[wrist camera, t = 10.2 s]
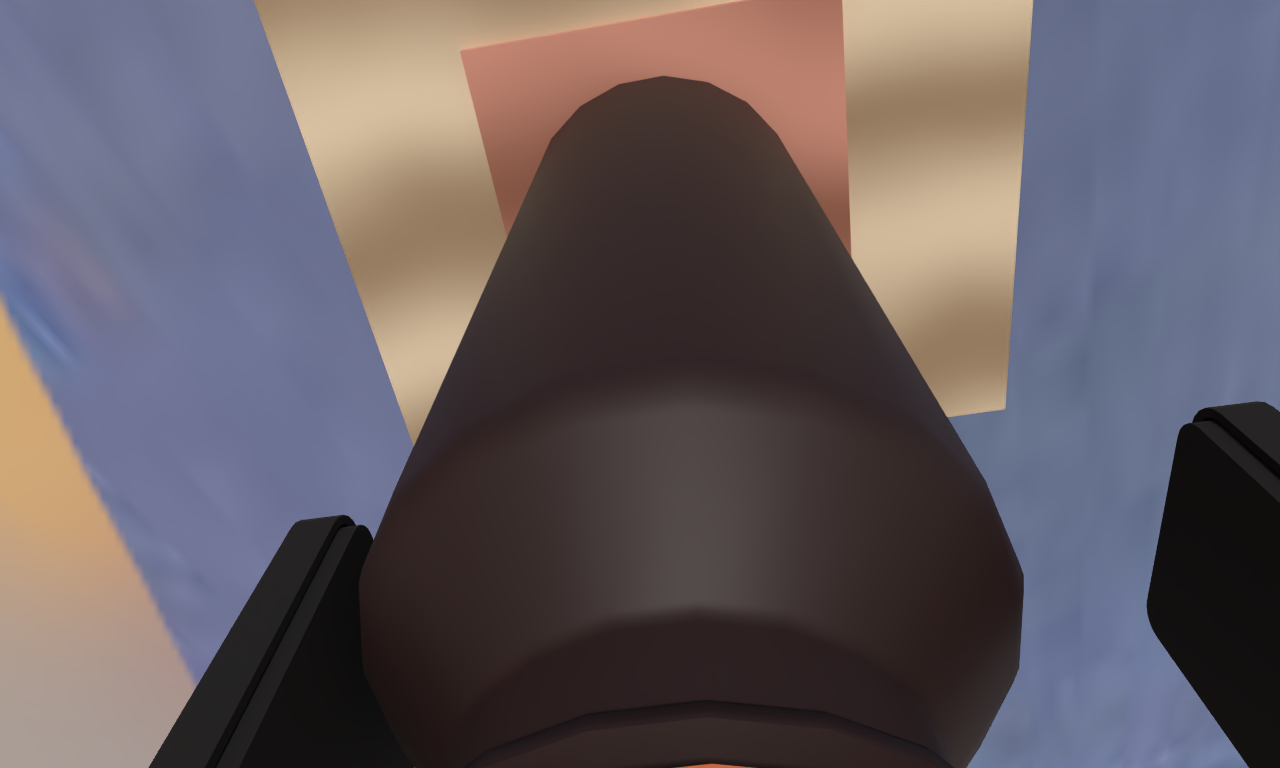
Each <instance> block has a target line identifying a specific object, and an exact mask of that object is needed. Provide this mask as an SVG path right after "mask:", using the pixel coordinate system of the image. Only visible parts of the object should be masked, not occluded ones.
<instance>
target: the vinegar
mask: <svg viewBox="0 0 1280 768" xmlns="http://www.w3.org/2000/svg"><path fill="white" fill-rule="evenodd" d="M1023 594H1024V575H1023V572H1022V569H1021V567H1020V564H1019V561H1018V559H1017V556H1016V554H1015V551H1014V549H1013V547H1012V544H1011V542H1010V539H1009V537H1008V534H1007V532H1006V530H1005V527H1004V525H1003V522H1002V520H1001V517H1000V515H999V513H998V510H997V508H996V505H995V503H994V500H993V498H992V496H991V493H990V491H989V488H988V486H987V483H986V481H985V479H984V478H983V476H982V474H981V473H980V471H979V469H978V468H977V466H976V464H975V463H974V461H973V459H972V458H971V456H970V454H969V453H968V451H967V449H966V448H965V446H964V444H963V443H962V441H961V439H960V438H959V436H958V434H957V433H956V431H955V429H954V428H953V426H952V424H951V423H950V421H949V419H948V418H947V416H946V414H945V413H944V411H943V409H942V408H941V406H940V404H939V403H938V401H937V399H936V398H935V396H934V394H933V393H932V391H931V389H930V388H929V386H928V384H927V383H926V381H925V379H924V378H923V376H922V374H921V373H920V371H919V369H918V368H917V366H916V364H915V363H914V361H913V359H912V358H911V356H910V354H909V353H908V351H907V349H906V348H905V346H904V344H903V343H902V341H901V339H900V338H899V336H898V334H897V333H896V331H895V329H894V328H893V326H892V324H891V323H890V321H889V319H888V318H887V316H886V314H885V313H884V311H883V309H882V308H881V306H880V304H879V303H878V301H877V299H876V298H875V296H874V294H873V293H872V291H871V289H870V288H869V286H868V284H867V283H866V281H865V279H864V278H863V276H862V274H861V273H860V271H859V269H858V268H857V266H856V264H855V263H854V261H853V259H852V258H851V256H850V254H849V253H848V251H847V249H846V248H845V246H844V244H843V243H842V241H841V239H840V238H839V236H838V234H837V233H836V231H835V229H834V228H833V226H832V224H831V223H830V221H829V219H828V218H827V216H826V214H825V213H824V211H823V209H822V208H821V206H820V204H819V203H818V201H817V199H816V198H815V196H814V194H813V193H812V191H811V189H810V188H809V186H808V184H807V183H806V181H805V179H804V178H803V176H802V174H801V173H800V171H799V169H798V168H797V166H796V164H795V163H794V161H793V159H792V158H791V156H790V154H789V153H788V151H787V149H786V148H785V146H784V144H783V143H782V141H781V139H780V138H779V136H778V134H777V133H776V132H775V131H774V130H773V129H772V128H771V127H770V126H769V125H768V124H767V123H766V121H765V120H764V119H763V118H762V117H761V116H760V115H759V114H758V113H757V112H756V111H755V110H754V109H753V108H752V107H751V106H750V105H749V104H748V102H746V101H744V100H742V99H740V98H738V97H736V96H734V95H732V94H730V93H728V92H726V91H724V90H722V89H720V88H719V87H717V86H715V85H713V84H711V83H709V82H704V81H697V80H690V79H683V78H676V77H669V76H659V77H654V78H648V79H643V80H638V81H633V82H627V83H622V84H618V85H616V86H615V87H613V88H611V89H609V90H608V91H606V92H604V93H602V94H601V95H599V96H597V97H595V98H594V99H592V100H590V101H588V102H587V103H585V104H583V105H581V106H580V107H579V108H578V109H577V110H576V111H575V112H574V114H573V115H572V116H571V117H570V118H569V119H568V120H567V122H566V123H565V124H564V125H563V126H562V127H561V128H560V129H559V131H558V132H557V133H556V134H555V135H554V136H553V137H552V138H551V140H550V142H549V145H548V147H547V149H546V151H545V154H544V156H543V158H542V160H541V163H540V165H539V167H538V169H537V172H536V174H535V176H534V178H533V181H532V183H531V185H530V187H529V190H528V192H527V194H526V196H525V198H524V201H523V203H522V205H521V207H520V210H519V212H518V214H517V216H516V219H515V221H514V223H513V225H512V228H511V230H510V232H509V234H508V237H507V239H506V241H505V243H504V246H503V248H502V250H501V252H500V254H499V257H498V259H497V261H496V263H495V266H494V268H493V270H492V272H491V275H490V277H489V279H488V281H487V284H486V286H485V288H484V290H483V293H482V295H481V297H480V299H479V302H478V304H477V306H476V308H475V310H474V313H473V315H472V317H471V319H470V322H469V324H468V326H467V328H466V331H465V333H464V335H463V337H462V340H461V342H460V344H459V346H458V349H457V351H456V353H455V355H454V358H453V360H452V362H451V364H450V367H449V369H448V371H447V373H446V375H445V378H444V380H443V382H442V384H441V387H440V389H439V391H438V393H437V396H436V398H435V400H434V402H433V405H432V407H431V409H430V411H429V414H428V416H427V418H426V420H425V423H424V425H423V427H422V429H421V431H420V434H419V436H418V438H417V440H416V443H415V445H414V447H413V449H412V452H411V454H410V456H409V458H408V461H407V463H406V465H405V467H404V470H403V472H402V474H401V476H400V479H399V481H398V483H397V485H396V487H395V490H394V492H393V495H392V497H391V499H390V502H389V504H388V507H387V509H386V512H385V514H384V516H383V519H382V521H381V524H380V526H379V529H378V531H377V533H376V536H375V538H374V541H373V543H372V546H371V548H370V550H369V553H368V555H367V558H366V560H365V563H364V565H363V567H362V571H361V575H360V579H359V601H360V623H361V645H362V662H363V672H364V675H365V677H366V679H367V681H368V683H369V685H370V687H371V689H372V691H373V693H374V695H375V697H376V699H377V702H378V704H379V706H380V708H381V710H382V712H383V714H384V716H385V718H386V720H387V722H388V724H389V726H390V728H391V730H392V732H393V734H394V736H395V738H396V740H397V742H398V744H399V746H400V748H401V750H402V752H403V753H404V754H405V756H406V757H407V758H408V759H409V761H410V762H411V763H412V764H413V766H414V767H415V768H966V767H967V766H968V764H969V763H970V761H971V760H972V758H973V757H974V755H975V754H976V752H977V750H978V749H979V747H980V746H981V744H982V742H983V740H984V738H985V736H986V734H987V732H988V730H989V728H990V726H991V724H992V722H993V720H994V718H995V717H996V715H997V713H998V711H999V709H1000V707H1001V705H1002V703H1003V701H1004V699H1005V697H1006V695H1007V693H1008V691H1009V689H1010V687H1011V685H1012V684H1013V682H1014V679H1015V677H1016V674H1017V671H1018V669H1019V661H1020V644H1021V627H1022V611H1023Z"/></svg>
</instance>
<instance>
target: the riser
mask: <svg viewBox="0 0 1280 768" xmlns="http://www.w3.org/2000/svg"><path fill="white" fill-rule="evenodd" d="M254 2H255V5H256V8H257V10H258V13H259V16H260V19H261V21H262V24H263V27H264V30H265V33H266V35H267V38H268V41H269V44H270V47H271V49H272V52H273V55H274V58H275V60H276V63H277V66H278V69H279V72H280V74H281V77H282V80H283V83H284V86H285V88H286V91H287V94H288V97H289V100H290V102H291V105H292V108H293V111H294V113H295V116H296V119H297V122H298V125H299V127H300V130H301V133H302V136H303V139H304V141H305V144H306V147H307V150H308V153H309V155H310V158H311V161H312V164H313V166H314V169H315V172H316V175H317V178H318V180H319V183H320V186H321V189H322V192H323V194H324V197H325V200H326V203H327V205H328V208H329V211H330V214H331V217H332V219H333V222H334V225H335V228H336V231H337V233H338V236H339V239H340V242H341V245H342V247H343V250H344V253H345V256H346V258H347V261H348V264H349V267H350V270H351V272H352V275H353V278H354V281H355V284H356V286H357V289H358V292H359V295H360V298H361V300H362V303H363V306H364V309H365V311H366V314H367V317H368V320H369V323H370V325H371V328H372V331H373V334H374V337H375V339H376V342H377V345H378V348H379V350H380V353H381V356H382V359H383V362H384V364H385V367H386V370H387V373H388V376H389V378H390V381H391V384H392V387H393V390H394V392H395V395H396V398H397V401H398V403H399V406H400V409H401V412H402V415H403V417H404V420H405V423H406V426H407V429H408V431H409V434H410V437H411V440H412V443H413V445H415V443H416V440H417V438H418V436H419V434H420V431H421V429H422V427H423V425H424V423H425V420H426V418H427V416H428V414H429V411H430V409H431V407H432V405H433V402H434V400H435V398H436V396H437V393H438V391H439V389H440V387H441V384H442V382H443V380H444V378H445V375H446V373H447V371H448V369H449V367H450V364H451V362H452V360H453V358H454V355H455V353H456V351H457V349H458V346H459V344H460V342H461V340H462V337H463V335H464V333H465V331H466V328H467V326H468V324H469V322H470V319H471V317H472V315H473V313H474V310H475V308H476V306H477V304H478V302H479V299H480V297H481V295H482V293H483V290H484V288H485V286H486V284H487V281H488V279H489V277H490V275H491V272H492V270H493V268H494V266H495V263H496V261H497V259H498V257H499V254H500V252H501V250H502V248H503V246H504V243H505V241H506V239H507V237H508V234H509V232H510V230H511V228H512V225H513V223H514V221H515V219H516V216H517V214H518V212H519V210H520V207H521V205H522V203H523V201H524V198H525V196H526V194H527V192H528V190H529V187H530V185H531V183H532V181H533V178H534V176H535V174H536V172H537V169H538V167H539V165H540V163H541V160H542V158H543V156H544V154H545V151H546V149H547V147H548V145H549V142H550V140H551V138H552V137H553V136H554V135H555V134H556V133H557V132H558V131H559V129H560V128H561V127H562V126H563V125H564V124H565V123H566V122H567V120H568V119H569V118H570V117H571V116H572V115H573V114H574V112H575V111H576V110H577V109H578V108H579V107H580V106H581V105H583V104H585V103H587V102H588V101H590V100H592V99H594V98H595V97H597V96H599V95H601V94H602V93H604V92H606V91H608V90H609V89H611V88H613V87H615V86H616V85H618V84H622V83H627V82H633V81H638V80H643V79H648V78H654V77H659V76H669V77H676V78H683V79H690V80H697V81H704V82H709V83H711V84H713V85H715V86H717V87H719V88H720V89H722V90H724V91H726V92H728V93H730V94H732V95H734V96H736V97H738V98H740V99H742V100H744V101H746V102H748V104H749V105H750V106H751V107H752V108H753V109H754V110H755V111H756V112H757V113H758V114H759V115H760V116H761V117H762V118H763V119H764V120H765V121H766V123H767V124H768V125H769V126H770V127H771V128H772V129H773V130H774V131H775V132H776V133H777V134H778V136H779V138H780V139H781V141H782V143H783V144H784V146H785V148H786V149H787V151H788V153H789V154H790V156H791V158H792V159H793V161H794V163H795V164H796V166H797V168H798V169H799V171H800V173H801V174H802V176H803V178H804V179H805V181H806V183H807V184H808V186H809V188H810V189H811V191H812V193H813V194H814V196H815V198H816V199H817V201H818V203H819V204H820V206H821V208H822V209H823V211H824V213H825V214H826V216H827V218H828V219H829V221H830V223H831V224H832V226H833V228H834V229H835V231H836V233H837V234H838V236H839V238H840V239H841V241H842V243H843V244H844V246H845V248H846V249H847V251H848V253H849V254H850V256H851V258H852V259H853V261H854V263H855V264H856V266H857V268H858V269H859V271H860V273H861V274H862V276H863V278H864V279H865V281H866V283H867V284H868V286H869V288H870V289H871V291H872V293H873V294H874V296H875V298H876V299H877V301H878V303H879V304H880V306H881V308H882V309H883V311H884V313H885V314H886V316H887V318H888V319H889V321H890V323H891V324H892V326H893V328H894V329H895V331H896V333H897V334H898V336H899V338H900V339H901V341H902V343H903V344H904V346H905V348H906V349H907V351H908V353H909V354H910V356H911V358H912V359H913V361H914V363H915V364H916V366H917V368H918V369H919V371H920V373H921V374H922V376H923V378H924V379H925V381H926V383H927V384H928V386H929V388H930V389H931V391H932V393H933V394H934V396H935V398H936V399H937V401H938V403H939V404H940V406H941V408H942V409H943V411H944V413H945V414H946V416H947V417H952V416H959V415H966V414H973V413H981V412H988V411H995V410H1002V409H1005V404H1006V389H1007V374H1008V360H1009V345H1010V331H1011V316H1012V302H1013V287H1014V272H1015V258H1016V243H1017V229H1018V214H1019V199H1020V185H1021V170H1022V156H1023V141H1024V126H1025V112H1026V97H1027V83H1028V68H1029V54H1030V39H1031V24H1032V10H1033V0H254Z"/></svg>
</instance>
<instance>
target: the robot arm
mask: <svg viewBox="0 0 1280 768" xmlns="http://www.w3.org/2000/svg"><path fill="white" fill-rule="evenodd" d="M373 541H374V540H373V538H372V535H371V533H370V531H369V530H368V528H367V527H366V526H364V525H357V526H356V525H355V523H354V521H353V520H352V519H351V518H350V517H349V516H346V515H339V516H331V517H323V518H315V519H307V520H301V521H298V522H296V523H295V524H294V525H293V526H292V528H291V529H290V531H289V532H288V534H287V536H286V537H285V539H284V541H283V543H282V544H281V546H280V548H279V549H278V551H277V553H276V554H275V556H274V558H273V559H272V561H271V563H270V564H269V566H268V568H267V569H266V571H265V573H264V574H263V576H262V578H261V580H260V581H259V583H258V585H257V586H256V588H255V590H254V591H253V593H252V595H251V596H250V598H249V600H248V601H247V603H246V605H245V606H244V608H243V610H242V611H241V613H240V615H239V616H238V618H237V620H236V622H235V623H234V625H233V627H232V628H231V630H230V632H229V633H228V635H227V637H226V638H225V640H224V642H223V643H222V645H221V647H220V648H219V650H218V652H217V653H216V655H215V657H214V659H213V660H212V662H211V664H210V665H209V667H208V669H207V670H206V672H205V674H204V675H203V677H202V679H201V680H200V682H199V684H198V685H197V687H196V689H195V690H194V692H193V694H192V696H191V697H190V699H189V701H188V702H187V704H186V706H185V707H184V709H183V711H182V712H181V714H180V716H179V718H178V719H177V721H176V722H175V724H174V726H173V727H172V729H171V731H170V733H169V734H168V736H167V738H166V739H165V741H164V743H163V744H162V746H161V748H160V749H159V751H158V753H157V755H156V756H155V758H154V759H153V761H152V763H151V765H150V766H149V768H414V766H413V764H412V763H411V762H410V761H409V759H408V758H407V757H406V756H405V754H404V753H403V752H402V750H401V748H400V746H399V744H398V742H397V740H396V738H395V736H394V734H393V732H392V730H391V728H390V726H389V724H388V722H387V720H386V718H385V716H384V714H383V712H382V710H381V708H380V706H379V704H378V702H377V699H376V697H375V695H374V693H373V691H372V689H371V687H370V685H369V683H368V681H367V679H366V677H365V675H364V672H363V662H362V645H361V623H360V601H359V579H360V575H361V571H362V567H363V565H364V563H365V560H366V558H367V555H368V553H369V550H370V548H371V546H372V543H373ZM1147 613H1148V617H1149V621H1150V624H1151V626H1152V629H1153V631H1154V633H1155V634H1156V636H1157V638H1158V639H1159V640H1160V642H1161V643H1162V645H1163V646H1164V648H1165V649H1166V650H1167V652H1168V653H1169V655H1170V656H1171V658H1172V659H1173V660H1174V662H1175V663H1176V665H1177V666H1178V667H1179V669H1180V670H1181V672H1182V673H1183V675H1184V676H1185V677H1186V679H1187V680H1188V682H1189V683H1190V684H1191V686H1192V687H1193V689H1194V690H1195V692H1196V693H1197V694H1198V696H1199V697H1200V699H1201V700H1202V701H1203V703H1204V704H1205V706H1206V707H1207V709H1208V710H1209V711H1210V713H1211V714H1212V716H1213V717H1214V719H1215V720H1216V721H1217V723H1218V724H1219V726H1220V727H1221V728H1222V730H1223V731H1224V733H1225V734H1226V736H1227V737H1228V738H1229V740H1230V741H1231V743H1232V744H1233V745H1234V747H1235V748H1236V750H1237V751H1238V753H1239V754H1240V755H1241V757H1242V758H1243V760H1244V761H1245V762H1246V764H1247V765H1248V767H1249V768H1280V412H1279V411H1278V410H1277V409H1275V408H1274V407H1272V406H1271V405H1269V404H1267V403H1265V402H1249V403H1241V404H1233V405H1225V406H1217V407H1209V408H1204V409H1202V410H1200V411H1198V413H1197V414H1196V415H1195V416H1194V419H1193V422H1192V423H1188V424H1185V425H1183V427H1182V428H1181V429H1180V431H1179V434H1178V438H1177V443H1176V449H1175V454H1174V459H1173V465H1172V470H1171V475H1170V481H1169V486H1168V491H1167V497H1166V502H1165V507H1164V513H1163V518H1162V523H1161V529H1160V534H1159V539H1158V545H1157V550H1156V555H1155V561H1154V566H1153V571H1152V577H1151V582H1150V587H1149V593H1148V598H1147Z"/></svg>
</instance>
